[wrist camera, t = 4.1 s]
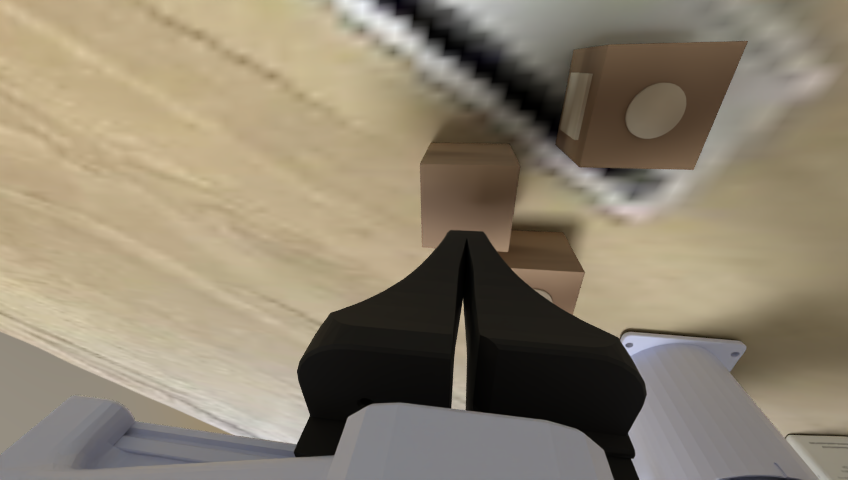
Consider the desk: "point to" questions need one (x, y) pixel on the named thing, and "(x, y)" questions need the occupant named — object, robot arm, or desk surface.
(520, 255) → the marked block 2
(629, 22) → the desk surface
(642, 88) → the marked block 1
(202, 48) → the desk surface
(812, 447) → the ink box
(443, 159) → the plain block
